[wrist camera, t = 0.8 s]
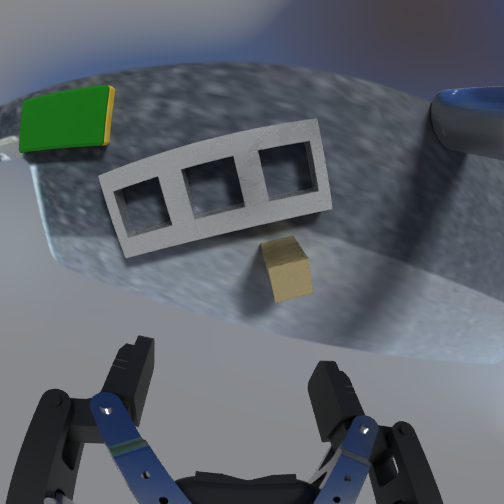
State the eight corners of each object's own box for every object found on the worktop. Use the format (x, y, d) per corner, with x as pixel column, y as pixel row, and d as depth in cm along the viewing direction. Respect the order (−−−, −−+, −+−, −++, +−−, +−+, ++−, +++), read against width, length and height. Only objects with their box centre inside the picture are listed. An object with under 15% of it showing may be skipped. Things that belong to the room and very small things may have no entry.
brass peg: (292, 235, 33) (308, 258, 26) (298, 265, 34) (313, 293, 28) (260, 243, 33) (268, 268, 26) (266, 272, 34) (275, 302, 28)
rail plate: (310, 120, 28) (316, 118, 25) (325, 204, 32) (332, 208, 29) (107, 173, 28) (98, 175, 26) (132, 250, 32) (125, 258, 30)
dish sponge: (33, 101, 23) (22, 100, 21) (117, 87, 25) (108, 84, 22) (28, 151, 26) (18, 153, 23) (110, 145, 27) (101, 145, 25)
